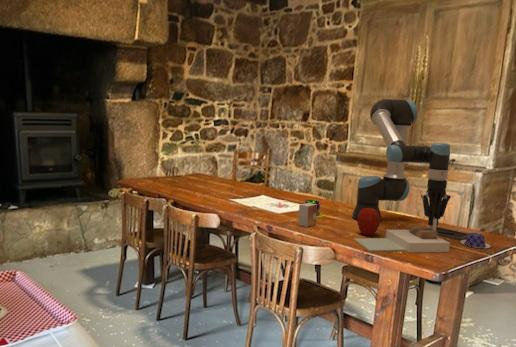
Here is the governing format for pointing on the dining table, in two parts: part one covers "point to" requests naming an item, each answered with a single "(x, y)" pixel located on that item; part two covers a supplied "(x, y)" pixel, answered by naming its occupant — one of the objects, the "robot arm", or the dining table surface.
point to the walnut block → (423, 232)
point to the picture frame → (451, 234)
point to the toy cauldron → (314, 203)
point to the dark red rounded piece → (368, 221)
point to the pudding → (475, 241)
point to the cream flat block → (417, 242)
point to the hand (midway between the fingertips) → (432, 232)
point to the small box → (307, 214)
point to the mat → (379, 244)
